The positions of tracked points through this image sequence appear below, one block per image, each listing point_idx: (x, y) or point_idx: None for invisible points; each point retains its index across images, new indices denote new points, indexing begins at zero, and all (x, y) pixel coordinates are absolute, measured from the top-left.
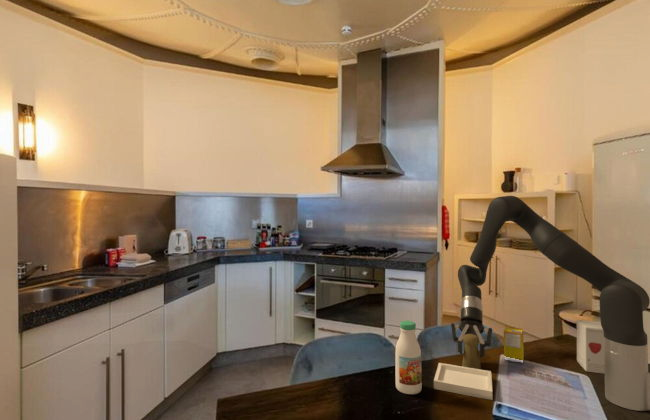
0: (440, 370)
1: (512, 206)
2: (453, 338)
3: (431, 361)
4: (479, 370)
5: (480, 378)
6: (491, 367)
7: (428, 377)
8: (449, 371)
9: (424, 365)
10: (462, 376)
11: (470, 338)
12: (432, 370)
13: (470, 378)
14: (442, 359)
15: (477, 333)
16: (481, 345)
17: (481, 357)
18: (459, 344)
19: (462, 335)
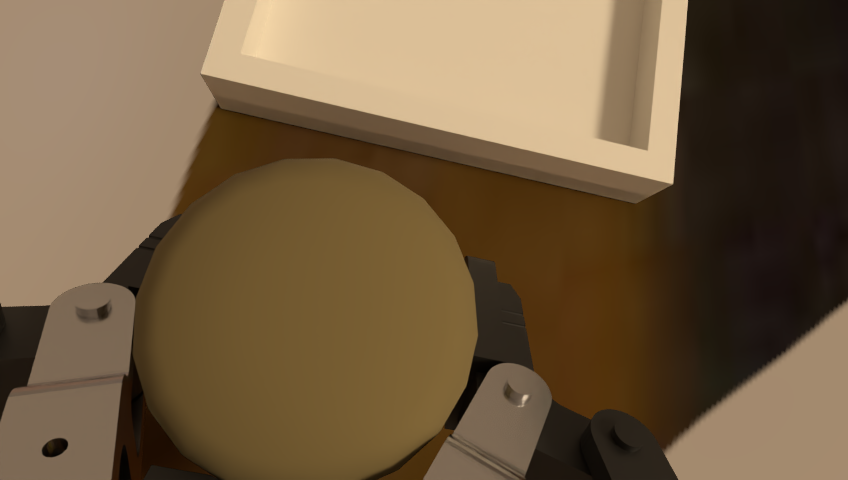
0: (649, 64)
1: None
2: (632, 424)
3: (702, 377)
4: (312, 75)
5: (325, 31)
6: None
7: (705, 60)
8: (565, 120)
9: (752, 270)
10: (468, 45)
11: (351, 166)
12: (684, 183)
13: (409, 19)
14: None
15: (76, 464)
16: None
17: None
18: (507, 344)
19: (480, 455)
